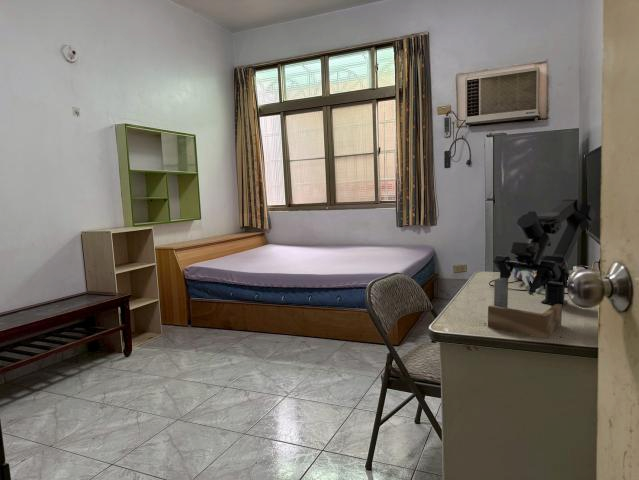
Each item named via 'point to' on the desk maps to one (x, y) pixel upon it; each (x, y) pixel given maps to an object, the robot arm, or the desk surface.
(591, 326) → the desk surface
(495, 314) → the walls
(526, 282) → the toy
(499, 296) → the bracket
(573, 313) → the desk surface
